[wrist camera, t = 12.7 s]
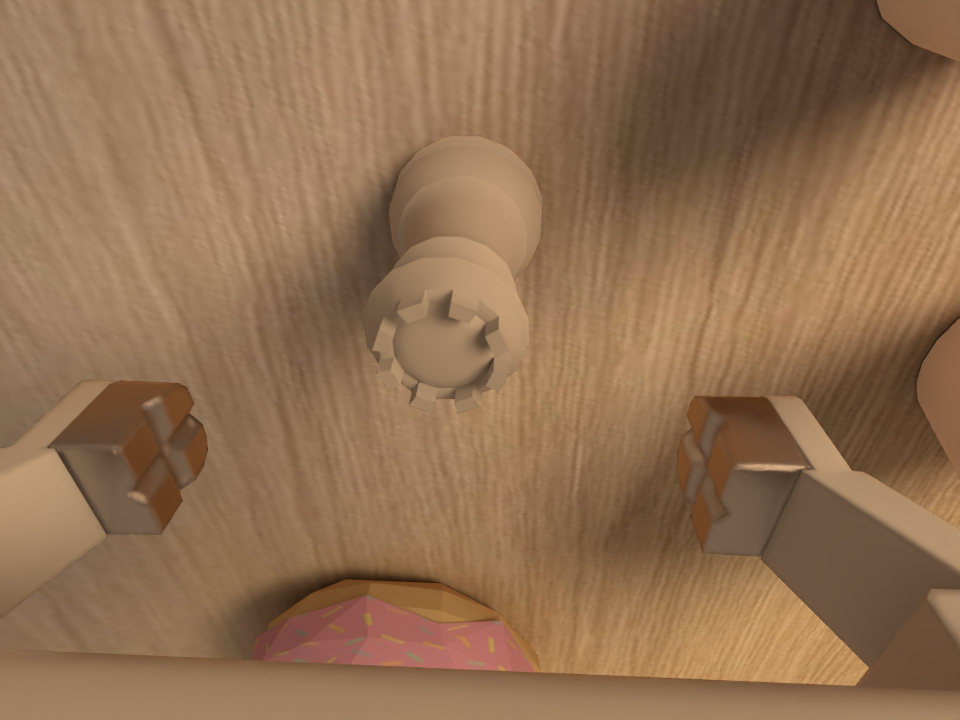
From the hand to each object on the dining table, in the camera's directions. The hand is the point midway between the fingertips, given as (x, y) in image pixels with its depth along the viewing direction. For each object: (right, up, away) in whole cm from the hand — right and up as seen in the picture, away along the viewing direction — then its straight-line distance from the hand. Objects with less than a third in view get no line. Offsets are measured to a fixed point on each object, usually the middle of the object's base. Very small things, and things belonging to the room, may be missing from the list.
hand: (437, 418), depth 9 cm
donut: (-4, -15, +22) cm, 27 cm away
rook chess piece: (0, +6, +8) cm, 10 cm away
